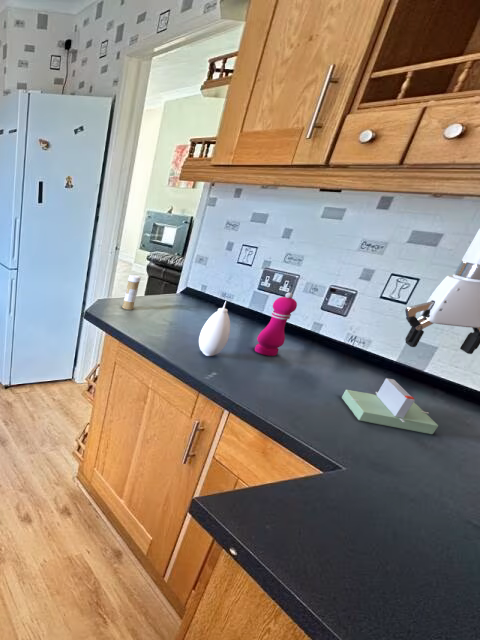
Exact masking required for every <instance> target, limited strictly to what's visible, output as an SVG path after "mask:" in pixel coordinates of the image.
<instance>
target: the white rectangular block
mask: <svg viewBox="0 0 480 640" xmlns="http://www.w3.org/2000/svg"><path fill="white" fill-rule="evenodd" d="M377 392H378V393H376V394H375V395H376V396H377V397H378V398H379V399H380V400H381V401H382V402H383V403H384V405H385V406H386V407H387V408H388V409H389V410H390V411H391V412H392V414H393V415H394V416H395V417H401V418H404V416H405V415H406V413H407V412H408V410H409V409H410V407H411V406H412V404H413V402H414V403H415V400H416V399H415V397H413V396H411V395H410V394H409V392H407V390H406V389H404V387H402V386H401V385H400V383H398V382H397V381H396V380H395V379H393V378H387V377H386V378H385V379H384V381H383V383H382V385H381V386H380V388H379V390H378V391H377Z"/></svg>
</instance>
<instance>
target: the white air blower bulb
mask: <svg viewBox="0 0 480 640" xmlns="http://www.w3.org/2000/svg"><path fill="white" fill-rule="evenodd" d="M226 305H227V300H225V302H224V304H223V306H222V307H219V308H218V309H217V311H215V312H213V313H212V314H211V315H210V316H209V318H208V319H207V320H206V321H205V323H204V325H203V326H202V328H201V330H200V333H199V335H198V347H199V350H200V351H201V352H202V354H203V355H205V356H207V357H213V356H215V355H218V354H220V352H221V351H222V350H224V349H225V347H226V345H227V344H228V341H229V338H230V334H231V321H230V320H231V319H230V315H229V313H228V312H229V311H228V309H227V308H226Z"/></svg>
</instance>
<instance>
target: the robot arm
mask: <svg viewBox="0 0 480 640" xmlns="http://www.w3.org/2000/svg"><path fill="white" fill-rule="evenodd" d="M419 312H420V313H419ZM404 313H405V320H406V321H407V322H408V323H409V326H410V329H409V331H408V332H407V334H406V337H405V338H404V341H405V344H407V345H408V346H409V347H410V348H416V347H417V346H418V344H419V342H420V341H421V339H422V337H423V335H424V334H425V331H424V329H426V328H427V327H430V326H432V325H443V326H450V327H451V326H453V327H462V328H470V329H471V328H472V332H469V333H468V334H467V335H466V337H465V339H464V341H463V342H462V344H461V345H460V347H459V348H460V350H461V351H463V352H464V353H466V354H468V355H472V354H473V353H474V352H475V351H476V350H477V349H478V348H479V346H480V227H479V229H478V230H477V232H476V234H475V235H474V237H473V239H472V241H471V243H470V245H469V246H468V248H467V250H466V251H465V253H464V255H463V257H462V258H461V260H460V262H459V264H458V265H457V268H456V270H455V271H454V273H453V274H448V275H446V276H445V278H443V280H442V281H441V282H440V283H439V284H438V285H437V286H436V288H435V289H434V290H433V292H432V293H431V294H430V297H428V299H427V300H426V302H423V303H419V304H415V305H411V306H407V307H405V309H404ZM417 313H419V315H420V317H419V318H417Z"/></svg>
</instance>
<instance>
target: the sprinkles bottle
mask: <svg viewBox="0 0 480 640" xmlns="http://www.w3.org/2000/svg"><path fill="white" fill-rule="evenodd" d="M141 278H142V277H141V275H138V274H129V276H128V278H127V285H126V290H125V294H124V299H123V303H122V308H123V309H124V310H134V309H135V307H134V306H135V302H136V298H137V295H138V290H139V286H140V282H141Z"/></svg>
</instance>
